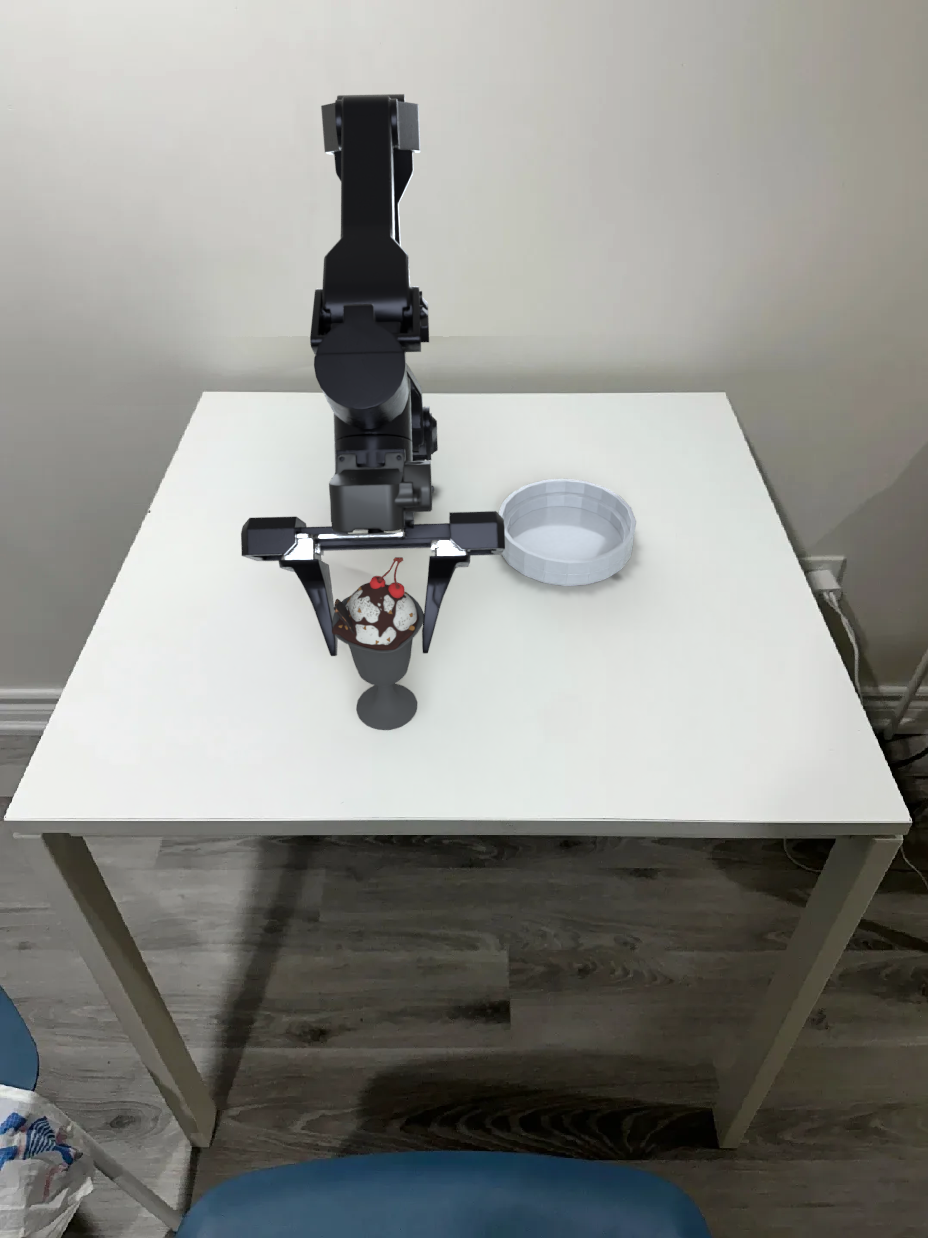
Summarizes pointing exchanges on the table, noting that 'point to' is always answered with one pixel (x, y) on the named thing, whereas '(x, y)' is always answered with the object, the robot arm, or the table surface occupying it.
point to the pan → (567, 531)
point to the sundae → (381, 647)
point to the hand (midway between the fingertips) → (379, 654)
